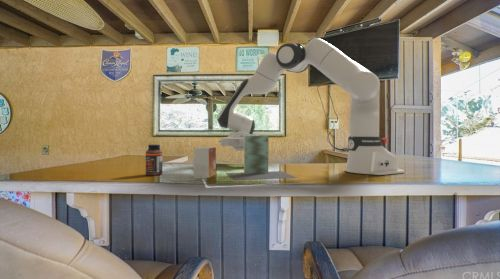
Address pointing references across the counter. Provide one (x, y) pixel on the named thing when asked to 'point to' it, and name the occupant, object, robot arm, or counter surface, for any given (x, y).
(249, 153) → the slab
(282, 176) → the mat
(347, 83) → the robot arm
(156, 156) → the supplement bottle
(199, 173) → the small box
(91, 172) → the counter surface
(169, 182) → the counter surface
